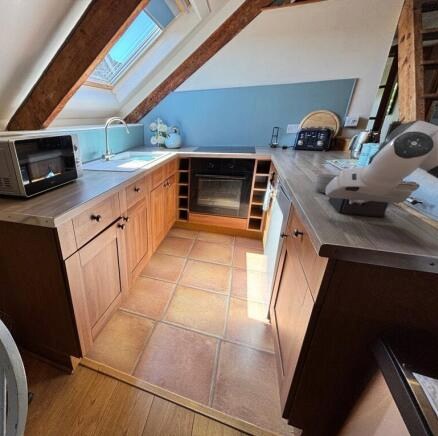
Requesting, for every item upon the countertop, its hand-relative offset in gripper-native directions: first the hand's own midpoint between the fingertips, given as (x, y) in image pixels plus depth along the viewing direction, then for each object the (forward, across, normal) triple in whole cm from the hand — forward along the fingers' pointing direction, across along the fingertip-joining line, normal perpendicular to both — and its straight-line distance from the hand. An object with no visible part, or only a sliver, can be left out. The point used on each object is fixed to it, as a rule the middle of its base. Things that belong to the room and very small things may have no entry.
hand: (354, 202), depth 83 cm
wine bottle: (+21, -14, -15) cm, 29 cm away
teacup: (+24, -1, -18) cm, 30 cm away
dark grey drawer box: (+10, -4, -3) cm, 11 cm away
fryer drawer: (+7, -4, -2) cm, 9 cm away
